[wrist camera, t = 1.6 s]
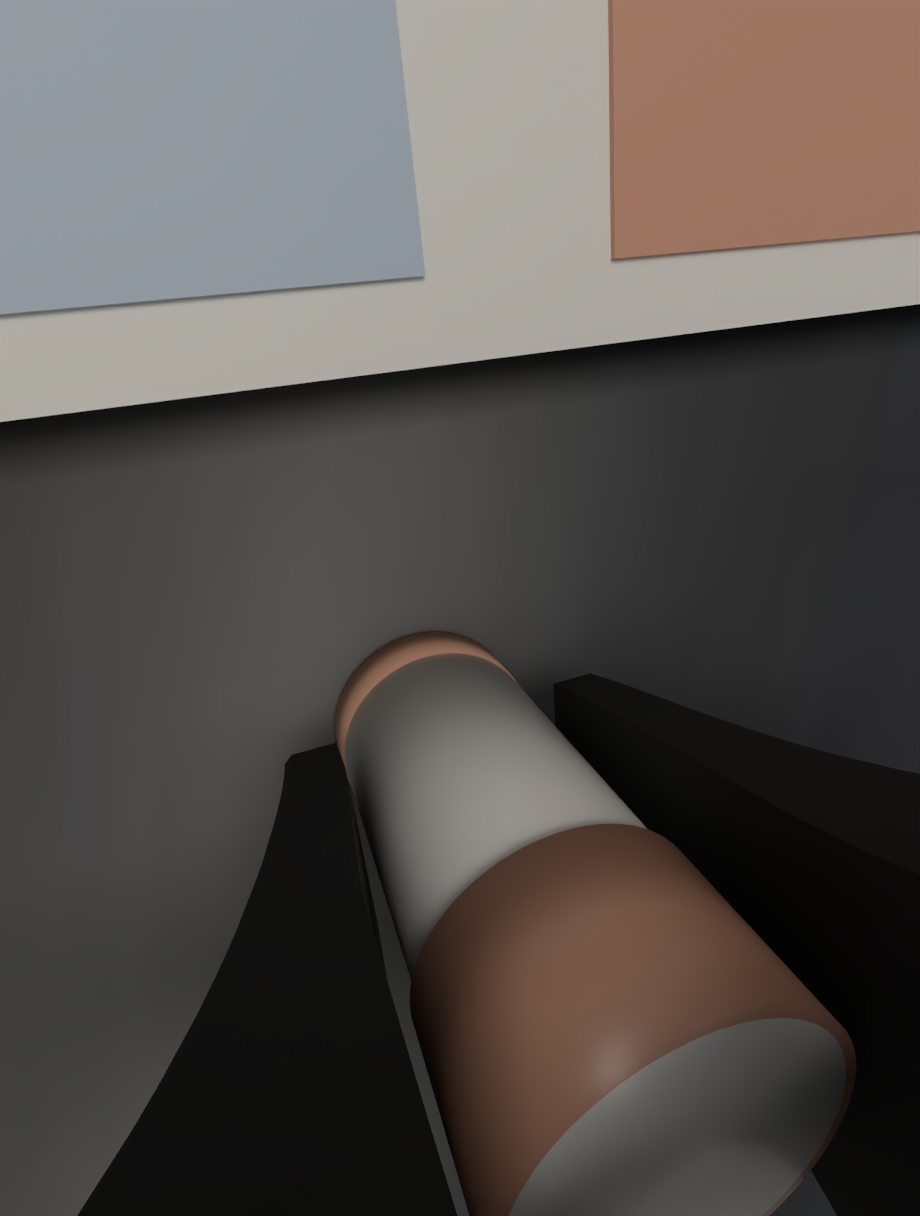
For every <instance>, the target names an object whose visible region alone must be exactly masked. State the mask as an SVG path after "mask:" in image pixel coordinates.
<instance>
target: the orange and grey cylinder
mask: <svg viewBox="0 0 920 1216" xmlns="http://www.w3.org/2000/svg"><path fill="white" fill-rule="evenodd" d="M335 737H336V742H337V746H338V749H339V752H340V754H341V757H342V760H343V762H344V765H345V768H346V773H347V778H348V780H349V782H350V785H351V787H352V790H353V793H354V797H355V800H356V803H357V806H358V809H359V813H360V816H361V819H362V822H363V826H364V829H365V832H366V835H367V839H368V842H369V845H370V848H371V852H372V855H373V858H374V861H375V864H376V868H377V871H378V874H379V877H380V881H381V884H382V887H383V890H384V894H385V897H386V900H387V903H388V907H389V910H390V913H391V916H392V920H393V923H394V926H395V929H396V932H397V936H398V939H399V942H400V945H401V949H402V952H403V955H404V958H405V962H406V965H407V968H408V971H409V975H410V978H411V981H412V982H411V991H410V1008H411V1017H412V1020H413V1024H414V1027H415V1030H416V1034H417V1037H418V1041H419V1044H420V1047H421V1051H422V1054H423V1058H424V1061H425V1065H426V1068H427V1071H428V1075H429V1078H430V1082H431V1085H432V1089H433V1092H434V1095H435V1099H436V1102H437V1106H438V1109H439V1112H440V1116H441V1119H442V1123H443V1126H444V1130H445V1133H446V1136H447V1140H448V1143H449V1147H450V1150H451V1153H452V1157H453V1160H454V1164H455V1167H456V1171H457V1174H458V1177H459V1181H460V1184H461V1188H462V1191H463V1195H464V1198H465V1201H466V1205H467V1208H468V1212H469V1215H470V1216H769V1215H771V1214H772V1213H773V1212H774V1211H775V1210H776V1209H777V1208H778V1207H779V1206H780V1205H781V1204H782V1203H783V1202H784V1201H785V1199H786V1198H787V1197H788V1196H789V1195H790V1194H791V1193H792V1192H793V1191H794V1190H795V1189H796V1188H797V1186H798V1185H799V1184H800V1183H801V1182H802V1180H803V1179H804V1178H805V1177H806V1176H807V1175H808V1173H809V1172H810V1171H811V1169H812V1168H813V1167H814V1165H815V1164H816V1163H817V1161H818V1160H819V1158H820V1157H821V1156H822V1154H823V1153H824V1151H825V1150H826V1148H827V1146H828V1145H829V1143H830V1142H831V1140H832V1138H833V1137H834V1135H835V1133H836V1131H837V1129H838V1127H839V1125H840V1123H841V1122H842V1120H843V1117H844V1115H845V1112H846V1110H847V1107H848V1105H849V1103H850V1099H851V1095H852V1092H853V1088H854V1084H855V1076H856V1054H855V1050H854V1046H853V1043H852V1040H851V1039H850V1037H849V1035H848V1033H847V1031H846V1030H845V1029H844V1028H843V1027H842V1026H841V1024H840V1023H839V1022H838V1021H837V1020H836V1019H835V1018H834V1017H833V1016H832V1015H831V1014H830V1013H829V1011H828V1010H827V1009H826V1008H825V1007H824V1006H823V1005H822V1004H821V1003H820V1002H819V1001H818V1000H817V998H816V997H815V996H814V995H813V994H812V993H811V992H810V991H809V990H808V989H807V988H806V987H805V985H804V984H803V983H802V982H801V981H800V980H799V979H798V978H797V977H796V976H795V975H794V974H793V972H792V971H791V970H790V969H789V968H788V967H787V966H786V965H785V964H784V963H783V962H782V961H781V959H780V958H779V957H778V956H777V955H776V954H775V953H774V952H773V951H772V950H771V949H770V948H769V946H768V945H767V944H766V943H765V942H764V941H763V940H762V939H761V938H760V937H759V936H758V935H757V933H756V932H755V931H754V930H753V929H752V928H751V927H750V926H749V925H748V924H747V923H746V922H745V920H744V919H743V918H742V917H741V916H740V915H739V914H738V913H737V912H736V911H735V910H734V908H733V907H732V906H731V905H730V904H729V903H728V902H727V901H726V900H725V899H724V898H723V897H722V895H721V894H720V893H719V892H718V891H717V890H716V889H715V888H714V887H713V886H712V885H711V884H710V882H709V881H708V880H707V879H706V878H705V877H704V876H703V875H702V874H701V873H700V872H699V871H698V869H697V868H696V867H695V866H694V865H693V864H692V863H691V862H690V861H689V860H688V859H687V858H686V856H685V855H684V854H683V853H682V852H681V851H680V850H679V849H678V848H677V847H676V846H675V845H674V844H673V843H672V842H670V841H669V840H667V839H666V838H665V837H663V836H662V835H660V834H657V833H655V832H653V831H651V830H648V829H647V828H646V827H645V826H644V824H643V823H642V822H641V821H640V820H639V819H638V818H637V817H636V816H635V814H634V813H633V812H632V811H631V810H630V809H629V808H628V807H627V805H626V804H625V803H624V802H623V801H622V800H621V799H620V798H619V797H618V795H617V794H616V793H615V792H614V791H613V790H612V789H611V788H610V787H609V785H608V784H607V783H606V782H605V781H604V780H603V779H602V778H601V776H600V775H599V774H598V773H597V772H596V771H595V770H594V769H593V768H592V766H591V765H590V764H589V763H588V762H587V761H586V760H585V759H584V758H583V756H582V755H581V754H580V753H579V752H578V751H577V750H576V749H575V747H574V746H573V745H572V744H571V743H570V742H569V741H568V740H567V739H566V737H565V736H564V735H563V734H562V733H561V732H560V731H559V730H558V729H557V727H556V726H555V725H554V724H553V723H552V722H551V721H550V720H549V719H548V717H547V716H546V715H545V714H544V713H543V712H542V711H541V710H540V708H539V707H538V706H537V705H536V704H535V703H534V702H533V701H532V700H531V698H530V697H529V696H528V695H527V694H526V693H525V692H524V691H523V690H522V688H521V687H520V686H519V685H518V683H517V682H516V680H515V679H514V678H513V676H512V675H511V674H510V673H509V672H508V671H507V670H506V669H505V668H504V666H503V665H502V664H501V663H500V662H499V661H498V660H497V659H496V658H495V657H494V656H493V654H492V653H491V652H490V651H489V650H488V649H486V648H485V647H484V646H482V645H481V644H480V643H478V642H476V641H474V640H472V639H470V638H468V637H465V636H462V635H459V634H454V633H450V632H424V633H418V634H413V635H410V636H406V637H403V638H400V639H398V640H396V641H394V642H391V643H389V644H388V645H386V646H384V647H382V648H381V649H379V650H378V651H376V652H375V653H374V654H372V655H371V656H370V657H369V658H367V659H366V660H365V661H364V662H363V663H362V664H361V665H360V666H359V667H358V669H357V670H356V671H355V672H354V673H353V675H352V676H351V678H350V679H349V681H348V682H347V684H346V685H345V687H344V690H343V692H342V694H341V696H340V699H339V702H338V705H337V709H336V714H335Z"/></svg>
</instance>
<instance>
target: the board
mask: <svg viewBox="0 0 920 1216" xmlns="http://www.w3.org/2000/svg"><path fill="white" fill-rule="evenodd" d="M917 304H920V0H0V422H4V421H12V420H20V419H28V418H36V417H43V416H51V415H59V414H67V413H75V412H82V411H90V410H98V409H106V408H114V407H121V406H129V405H137V404H145V403H153V402H160V401H168V400H176V399H184V398H192V397H199V396H207V395H215V394H223V393H231V392H238V391H246V390H254V389H262V388H270V387H277V386H285V385H293V384H301V383H309V382H316V381H324V380H332V379H340V378H348V377H355V376H363V375H371V374H379V373H387V372H394V371H402V370H410V369H418V368H426V367H433V366H441V365H449V364H457V363H465V362H472V361H480V360H488V359H496V358H503V357H511V356H519V355H527V354H535V353H542V352H550V351H558V350H566V349H574V348H581V347H589V346H597V345H605V344H613V343H620V342H628V341H636V340H644V339H652V338H659V337H667V336H675V335H683V334H691V333H698V332H706V331H714V330H722V329H730V328H737V327H745V326H753V325H761V324H769V323H776V322H784V321H792V320H800V319H808V318H815V317H823V316H831V315H839V314H847V313H854V312H862V311H870V310H878V309H886V308H893V307H901V306H909V305H917Z"/></svg>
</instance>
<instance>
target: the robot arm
mask: <svg viewBox="0 0 920 1216" xmlns="http://www.w3.org/2000/svg"><path fill="white" fill-rule="evenodd" d="M553 686H554V705H555V723H556V727H557V729H558V730H559V731H560V732H561V733H562V734H563V735H564V736H565V737H566V739H567V740H568V741H569V742H570V743H571V744H572V745H573V746H574V747H575V749H576V750H577V751H578V752H579V753H580V754H581V755H582V756H583V758H584V759H585V760H586V761H587V762H588V763H589V764H590V765H591V766H592V768H593V769H594V770H595V771H596V772H597V773H598V774H599V775H600V776H601V778H602V779H603V780H604V781H605V782H606V783H607V784H608V785H609V787H610V788H611V789H612V790H613V791H614V792H615V793H616V794H617V795H618V797H619V798H620V799H621V800H622V801H623V802H624V803H625V804H626V805H627V807H628V808H629V809H630V810H631V811H632V812H633V813H634V814H635V816H636V817H637V818H638V819H639V820H640V821H641V822H642V823H643V824H644V826H645V827H646V828H647V829H648V830H651V831H653V832H655V833H657V834H660V835H662V836H663V837H665V838H666V839H667V840H669V841H670V842H672V843H673V844H674V845H675V846H676V847H677V848H678V849H679V850H680V851H681V852H682V853H683V854H684V855H685V856H686V858H687V859H688V860H689V861H690V862H691V863H692V864H693V865H694V866H695V867H696V868H697V869H698V871H699V872H700V873H701V874H702V875H703V876H704V877H705V878H706V879H707V880H708V881H709V882H710V884H711V885H712V886H713V887H714V888H715V889H716V890H717V891H718V892H719V893H720V894H721V895H722V897H723V898H724V899H725V900H726V901H727V902H728V903H729V904H730V905H731V906H732V907H733V908H734V910H735V911H736V912H737V913H738V914H739V915H740V916H741V917H742V918H743V919H744V920H745V922H746V923H747V924H748V925H749V926H750V927H751V928H752V929H753V930H754V931H755V932H756V933H757V935H758V936H759V937H760V938H761V939H762V940H763V941H764V942H765V943H766V944H767V945H768V946H769V948H770V949H771V950H772V951H773V952H774V953H775V954H776V955H777V956H778V957H779V958H780V959H781V961H782V962H783V963H784V964H785V965H786V966H787V967H788V968H789V969H790V970H791V971H792V972H793V974H794V975H795V976H796V977H797V978H798V979H799V980H800V981H801V982H802V983H803V984H804V985H805V987H806V988H807V989H808V990H809V991H810V992H811V993H812V994H813V995H814V996H815V997H816V998H817V1000H818V1001H819V1002H820V1003H821V1004H822V1005H823V1006H824V1007H825V1008H826V1009H827V1010H828V1011H829V1013H830V1014H831V1015H832V1016H833V1017H834V1018H835V1019H836V1020H837V1021H838V1022H839V1023H840V1024H841V1026H842V1027H843V1028H844V1029H845V1030H846V1031H847V1033H848V1035H849V1037H850V1039H851V1040H852V1043H853V1046H854V1050H855V1054H856V1076H855V1084H854V1088H853V1092H852V1095H851V1099H850V1103H849V1105H848V1107H847V1110H846V1112H845V1115H844V1117H843V1120H842V1122H841V1123H840V1125H839V1127H838V1129H837V1131H836V1133H835V1135H834V1137H833V1138H832V1140H831V1142H830V1143H829V1145H828V1146H827V1148H826V1150H825V1151H824V1153H823V1154H822V1156H821V1157H820V1158H819V1160H818V1161H817V1163H816V1164H815V1165H814V1167H813V1168H812V1169H811V1171H812V1172H813V1174H814V1176H815V1178H816V1179H817V1181H818V1183H819V1185H820V1186H821V1188H822V1190H823V1192H824V1193H825V1195H826V1197H827V1199H828V1200H829V1202H830V1204H831V1206H832V1207H833V1209H834V1211H835V1212H836V1214H837V1216H920V774H918V773H913V772H908V771H903V770H898V769H893V768H889V767H885V766H881V765H876V764H872V763H868V762H864V761H860V760H855V759H851V758H847V757H843V756H839V755H835V754H831V753H827V752H823V751H820V750H816V749H812V748H809V747H805V746H802V745H798V744H795V743H792V742H788V741H785V740H782V739H779V738H775V737H772V736H769V735H766V734H762V733H759V732H756V731H753V730H750V729H747V728H744V727H741V726H738V725H735V724H732V723H729V722H726V721H723V720H720V719H717V718H714V717H712V716H709V715H706V714H703V713H700V712H698V711H695V710H692V709H689V708H687V707H684V706H681V705H678V704H676V703H673V702H670V701H667V700H665V699H662V698H659V697H657V696H654V695H651V694H649V693H646V692H643V691H640V690H638V689H635V688H632V687H629V686H627V685H624V684H621V683H618V682H615V681H612V680H609V679H606V678H603V677H599V676H596V675H592V674H587V675H584V676H580V677H576V678H573V679H569V680H565V681H562V682H558V683H554V684H553ZM78 1216H457V1213H456V1210H455V1207H454V1203H453V1200H452V1197H451V1193H450V1190H449V1187H448V1184H447V1180H446V1177H445V1174H444V1170H443V1167H442V1164H441V1161H440V1157H439V1154H438V1151H437V1148H436V1144H435V1141H434V1138H433V1134H432V1131H431V1128H430V1124H429V1121H428V1118H427V1114H426V1111H425V1108H424V1104H423V1101H422V1097H421V1094H420V1091H419V1087H418V1084H417V1081H416V1077H415V1074H414V1070H413V1067H412V1064H411V1060H410V1057H409V1054H408V1050H407V1047H406V1044H405V1040H404V1037H403V1033H402V1030H401V1027H400V1023H399V1020H398V1016H397V1013H396V1009H395V1006H394V1002H393V999H392V995H391V992H390V989H389V985H388V982H387V977H386V971H385V965H384V959H383V953H382V947H381V941H380V935H379V929H378V923H377V918H376V913H375V909H374V904H373V899H372V894H371V889H370V884H369V879H368V875H367V870H366V865H365V860H364V855H363V850H362V846H361V841H360V836H359V831H358V826H357V821H356V816H355V812H354V807H353V802H352V797H351V792H350V787H349V783H348V778H347V773H346V768H345V765H344V762H343V760H342V757H341V754H340V752H339V749H338V746H337V744H336V743H334V744H330V745H326V746H323V747H319V748H315V749H312V750H308V751H304V752H301V753H297V754H293V755H291V757H290V758H289V759H288V761H287V762H286V764H285V774H284V782H283V788H282V793H281V798H280V803H279V807H278V811H277V815H276V819H275V823H274V826H273V830H272V833H271V836H270V839H269V843H268V846H267V849H266V852H265V856H264V859H263V862H262V865H261V868H260V871H259V874H258V877H257V879H256V882H255V884H254V887H253V890H252V892H251V895H250V897H249V900H248V903H247V905H246V908H245V910H244V913H243V916H242V918H241V921H240V923H239V926H238V928H237V931H236V933H235V935H234V938H233V940H232V942H231V945H230V947H229V949H228V951H227V954H226V956H225V958H224V960H223V962H222V965H221V967H220V969H219V971H218V973H217V975H216V977H215V979H214V981H213V983H212V986H211V988H210V990H209V992H208V994H207V996H206V998H205V1000H204V1002H203V1004H202V1006H201V1008H200V1010H199V1012H198V1014H197V1016H196V1018H195V1020H194V1022H193V1023H192V1025H191V1027H190V1029H189V1031H188V1033H187V1034H186V1036H185V1038H184V1040H183V1042H182V1043H181V1045H180V1047H179V1049H178V1051H177V1053H176V1054H175V1056H174V1058H173V1060H172V1062H171V1064H170V1065H169V1067H168V1069H167V1071H166V1073H165V1075H164V1076H163V1078H162V1080H161V1082H160V1084H159V1085H158V1087H157V1089H156V1091H155V1092H154V1094H153V1096H152V1097H151V1099H150V1101H149V1103H148V1104H147V1106H146V1108H145V1109H144V1111H143V1113H142V1115H141V1116H140V1118H139V1120H138V1121H137V1123H136V1125H135V1126H134V1128H133V1130H132V1131H131V1133H130V1134H129V1136H128V1138H127V1139H126V1141H125V1142H124V1144H123V1145H122V1147H121V1149H120V1150H119V1152H118V1153H117V1155H116V1156H115V1158H114V1159H113V1161H112V1163H111V1164H110V1166H109V1167H108V1169H107V1170H106V1172H105V1173H104V1175H103V1177H102V1178H101V1180H100V1181H99V1183H98V1184H97V1186H96V1188H95V1189H94V1191H93V1192H92V1194H91V1195H90V1197H89V1198H88V1200H87V1202H86V1203H85V1205H84V1206H83V1208H82V1209H81V1211H80V1212H79V1214H78Z"/></svg>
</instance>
